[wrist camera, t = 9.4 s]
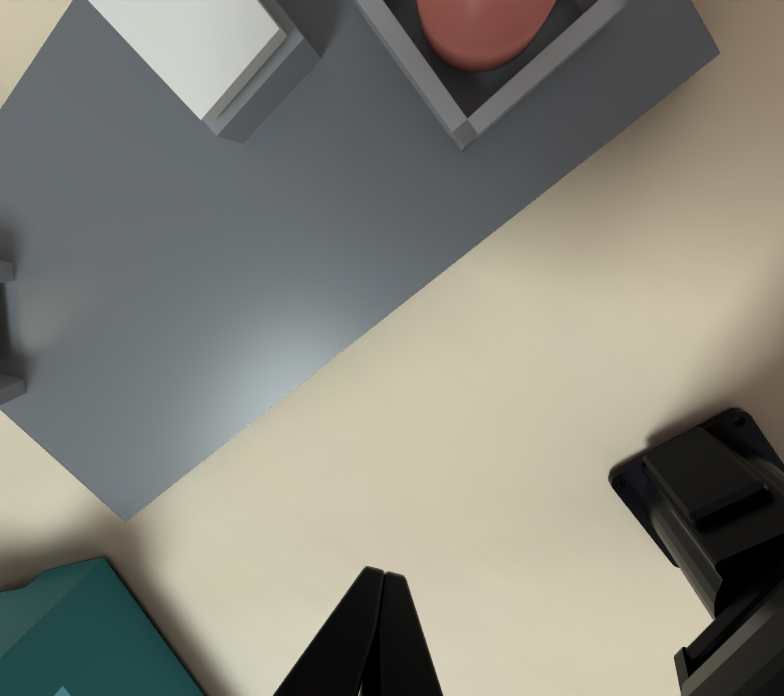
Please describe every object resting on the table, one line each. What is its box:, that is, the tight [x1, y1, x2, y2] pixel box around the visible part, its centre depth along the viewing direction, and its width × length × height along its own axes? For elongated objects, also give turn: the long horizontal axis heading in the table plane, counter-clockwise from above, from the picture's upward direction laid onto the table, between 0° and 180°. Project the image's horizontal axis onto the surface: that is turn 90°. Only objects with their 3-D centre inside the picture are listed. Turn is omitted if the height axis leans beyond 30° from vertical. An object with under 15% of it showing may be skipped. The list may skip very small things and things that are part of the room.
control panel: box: [0, 0, 720, 522], centre depth 16 cm, size 16×33×4 cm, turn 130°
